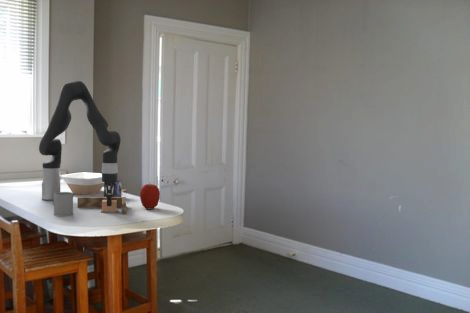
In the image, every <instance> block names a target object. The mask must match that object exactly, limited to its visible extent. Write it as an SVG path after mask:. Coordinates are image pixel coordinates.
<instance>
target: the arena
mask: <svg viewBox="0 0 470 313" xmlns="http://www.w3.org/2000/svg"><path fill="white" fill-rule="evenodd" d="M102 200H107V198H106V197H104V196H77V200H76V201H77V202H76V203H77V205H76V206H77V208H79V209H80V208H102ZM112 200H117V208H121V215H127V197H126V196H121V197H112Z"/></svg>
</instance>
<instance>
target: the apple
mask: <svg viewBox="0 0 470 313" xmlns="http://www.w3.org/2000/svg"><path fill="white" fill-rule="evenodd" d="M160 192H161V190H160V188H159V187H158V185H156V184H151V183H148V184H144V185H143V186H142V187H141V188H140V192H139V198H140V199H139V200H140V203H141V205H142V206H143V208H144V209H145V210H152V209H153V210H154V209H155V208H156V207H157V206H158V205H159V201H160V196H161V193H160Z"/></svg>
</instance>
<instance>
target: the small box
mask: <svg viewBox="0 0 470 313" xmlns="http://www.w3.org/2000/svg"><path fill="white" fill-rule="evenodd" d="M122 181H123V180H122V179H118V180H117V182H112V183H113V184H112V185H114V189H113V195H112V197H122V192H123V191H122V190H123V189H122V187H123V186H122V183H123V182H122ZM106 185H107V182H104V185H103V197H106V196H107V195H106V189H105V186H106Z"/></svg>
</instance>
